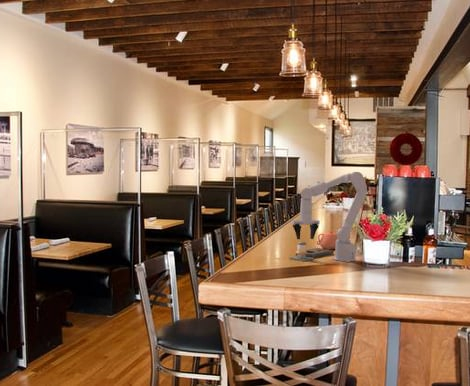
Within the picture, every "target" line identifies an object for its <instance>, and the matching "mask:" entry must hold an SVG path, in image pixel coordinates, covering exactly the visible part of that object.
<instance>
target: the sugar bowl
mask: <svg viewBox="0 0 470 386" xmlns="http://www.w3.org/2000/svg"><path fill="white" fill-rule="evenodd" d="M320 236H321V237H320ZM337 239H338V238H337V232H334V230H328V232H324V233H319V234H318V235H317V240H318V241H316V245H317V246H320V248H322V249H328V250H334V249H336V240H337Z"/></svg>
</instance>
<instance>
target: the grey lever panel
mask: <svg viewBox="0 0 470 386" xmlns="http://www.w3.org/2000/svg"><path fill="white" fill-rule="evenodd" d="M306 252H307V254H306V255H305V257H309V258H314V259H315V258H321V257H326V255H327V256H331V254H332V255H335V250H334V249H325V248H322V247H314V248H309V249H306ZM295 256H297V254H296V253H295Z"/></svg>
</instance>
